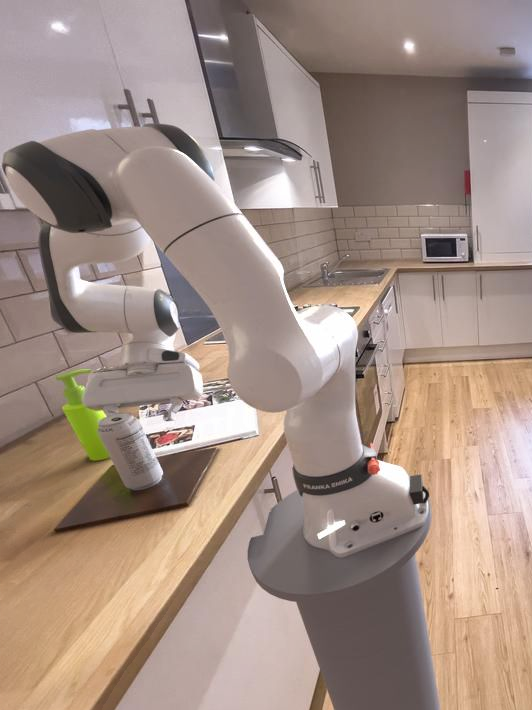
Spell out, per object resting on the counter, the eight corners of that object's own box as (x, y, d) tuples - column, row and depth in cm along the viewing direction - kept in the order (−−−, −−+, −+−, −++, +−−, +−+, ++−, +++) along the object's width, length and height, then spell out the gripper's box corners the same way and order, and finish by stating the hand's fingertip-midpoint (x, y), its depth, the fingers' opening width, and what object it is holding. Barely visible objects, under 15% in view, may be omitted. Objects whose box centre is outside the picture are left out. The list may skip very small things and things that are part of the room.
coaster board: (218, 449, 95) (217, 446, 95) (188, 505, 78) (187, 502, 77) (113, 468, 89) (111, 465, 89) (55, 532, 72) (53, 529, 72)
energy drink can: (152, 471, 87) (122, 408, 80) (172, 476, 85) (143, 413, 78) (119, 488, 81) (85, 423, 75) (140, 494, 80) (106, 428, 73)
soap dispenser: (134, 447, 97) (96, 369, 88) (97, 463, 91) (53, 381, 82) (120, 441, 99) (82, 365, 90) (84, 457, 93) (40, 377, 85)
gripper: (78, 363, 84) (68, 427, 79) (193, 352, 89) (190, 412, 84) (100, 374, 89) (93, 435, 85) (207, 363, 94) (205, 420, 90)
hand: (142, 423), depth 85 cm, fingers open, 8 cm apart
